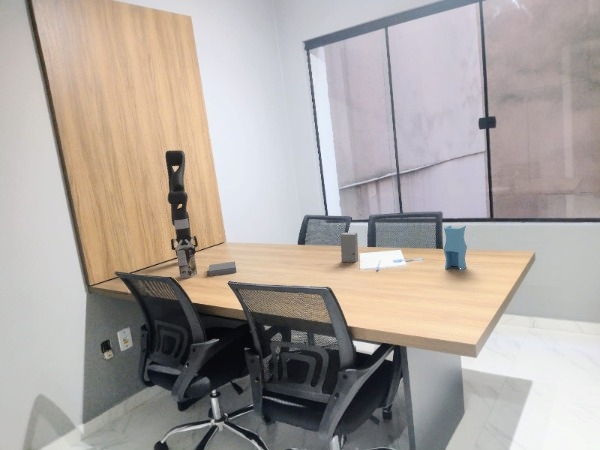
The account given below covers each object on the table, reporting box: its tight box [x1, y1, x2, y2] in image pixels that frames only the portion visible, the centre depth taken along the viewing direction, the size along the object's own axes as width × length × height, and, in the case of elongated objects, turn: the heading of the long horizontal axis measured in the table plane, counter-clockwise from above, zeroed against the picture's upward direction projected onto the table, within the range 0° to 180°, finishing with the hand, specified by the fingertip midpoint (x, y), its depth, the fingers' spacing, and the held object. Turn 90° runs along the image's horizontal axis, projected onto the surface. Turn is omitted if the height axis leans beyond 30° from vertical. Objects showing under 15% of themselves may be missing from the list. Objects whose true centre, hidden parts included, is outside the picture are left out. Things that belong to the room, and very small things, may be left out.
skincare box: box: [340, 232, 359, 263], centre depth 232 cm, size 8×7×16 cm
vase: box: [443, 224, 468, 272], centre depth 198 cm, size 8×8×20 cm
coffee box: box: [177, 247, 198, 279], centre depth 234 cm, size 9×6×16 cm
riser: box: [208, 260, 237, 277], centre depth 238 cm, size 15×15×3 cm
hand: (186, 255), depth 233 cm, fingers open, 8 cm apart
